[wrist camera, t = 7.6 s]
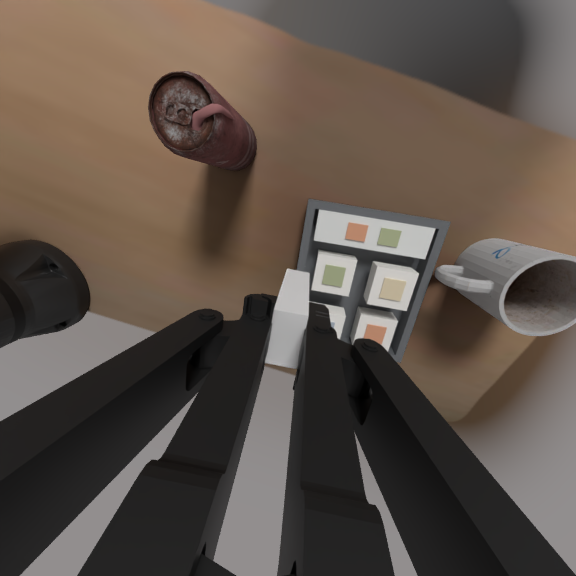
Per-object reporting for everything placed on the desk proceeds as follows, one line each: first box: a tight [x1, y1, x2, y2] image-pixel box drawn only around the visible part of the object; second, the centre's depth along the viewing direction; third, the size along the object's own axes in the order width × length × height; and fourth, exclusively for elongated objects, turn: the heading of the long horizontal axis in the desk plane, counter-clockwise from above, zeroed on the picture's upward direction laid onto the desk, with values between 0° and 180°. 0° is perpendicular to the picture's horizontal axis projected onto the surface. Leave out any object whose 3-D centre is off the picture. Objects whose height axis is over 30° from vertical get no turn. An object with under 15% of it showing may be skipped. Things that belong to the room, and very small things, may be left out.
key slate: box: [309, 301, 346, 339], centre depth 37 cm, size 5×5×3 cm
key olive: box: [311, 249, 357, 297], centre depth 36 cm, size 5×5×3 cm
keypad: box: [297, 199, 450, 363], centre depth 36 cm, size 17×20×3 cm
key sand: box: [364, 261, 419, 311], centre depth 34 cm, size 5×5×3 cm
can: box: [148, 71, 257, 170], centre depth 27 cm, size 6×6×14 cm
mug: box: [435, 238, 576, 336], centre depth 31 cm, size 12×9×10 cm
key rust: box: [350, 306, 398, 352], centre depth 38 cm, size 5×5×3 cm
